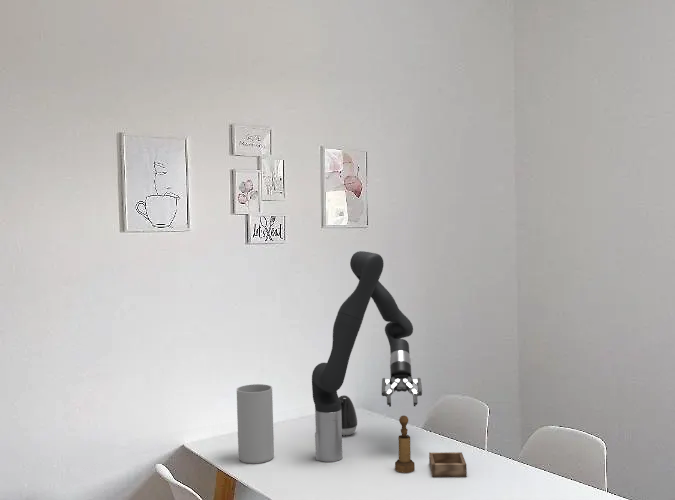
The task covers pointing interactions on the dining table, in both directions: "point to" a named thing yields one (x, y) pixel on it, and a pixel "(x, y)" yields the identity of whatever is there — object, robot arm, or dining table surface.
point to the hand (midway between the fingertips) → (402, 405)
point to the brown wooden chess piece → (404, 450)
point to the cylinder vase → (255, 423)
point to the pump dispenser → (348, 416)
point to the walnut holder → (447, 464)
